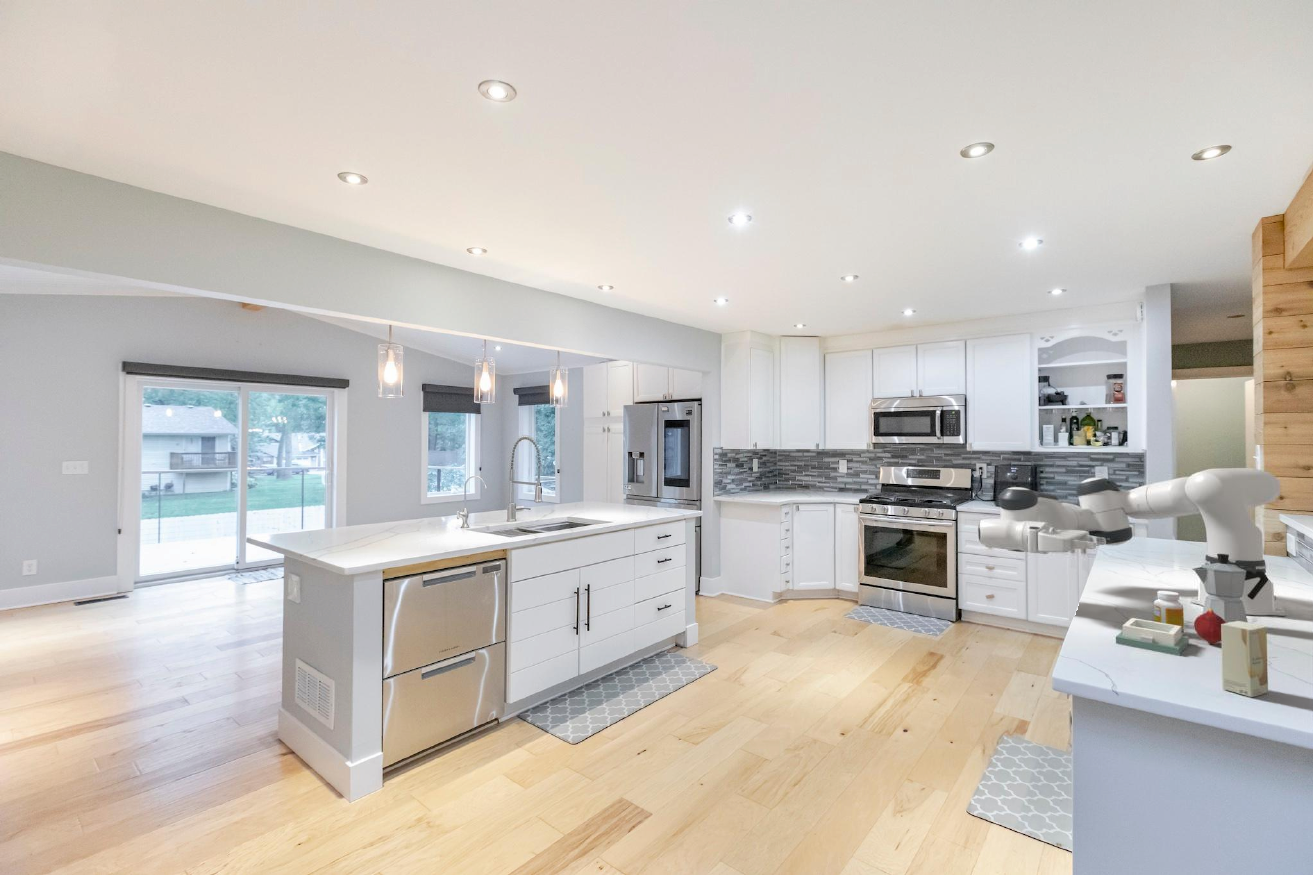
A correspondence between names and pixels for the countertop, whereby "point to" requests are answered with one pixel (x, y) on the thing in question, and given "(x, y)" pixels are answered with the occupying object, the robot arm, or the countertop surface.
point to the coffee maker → (1228, 588)
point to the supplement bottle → (1169, 609)
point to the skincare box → (1244, 658)
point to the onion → (1209, 626)
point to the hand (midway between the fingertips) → (1100, 543)
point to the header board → (1153, 636)
